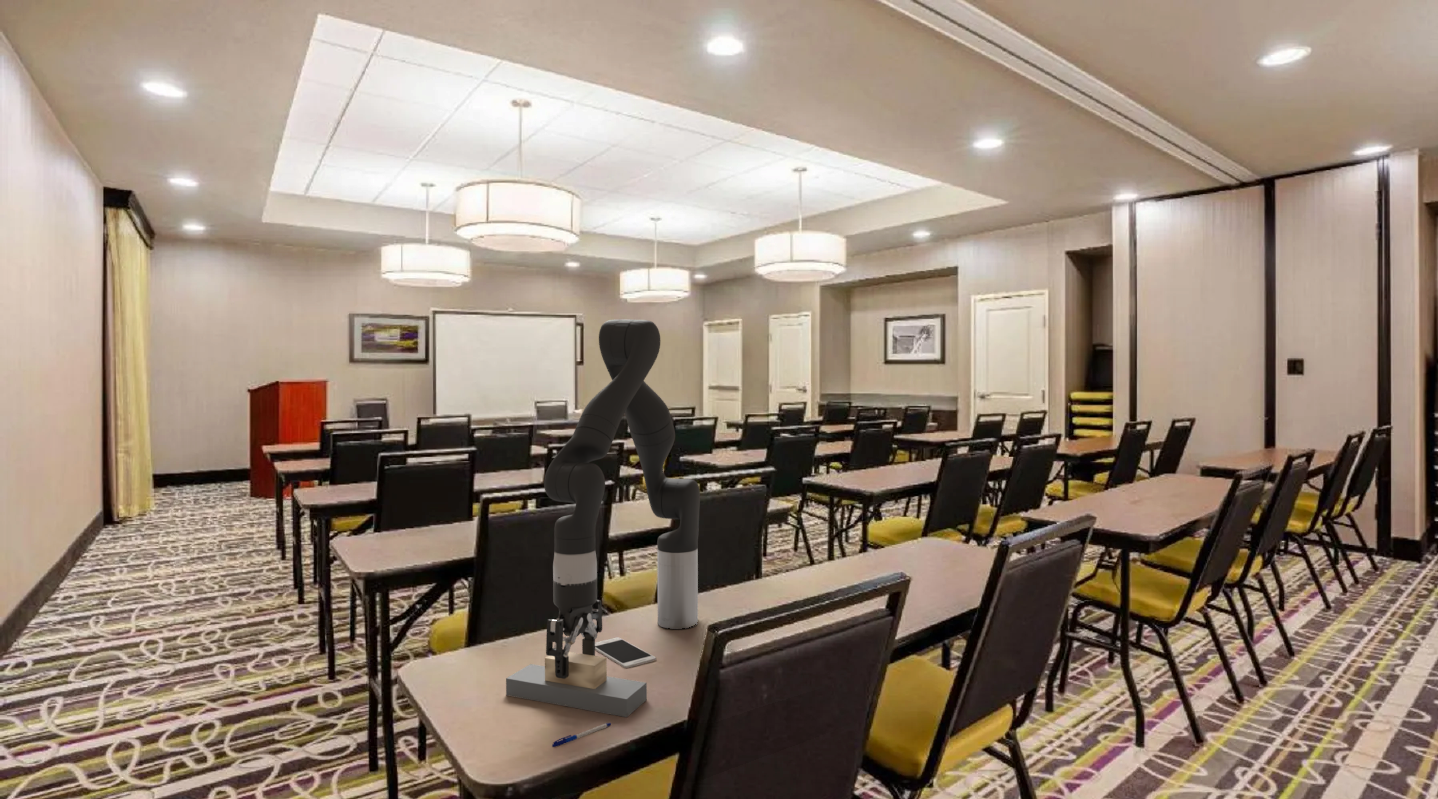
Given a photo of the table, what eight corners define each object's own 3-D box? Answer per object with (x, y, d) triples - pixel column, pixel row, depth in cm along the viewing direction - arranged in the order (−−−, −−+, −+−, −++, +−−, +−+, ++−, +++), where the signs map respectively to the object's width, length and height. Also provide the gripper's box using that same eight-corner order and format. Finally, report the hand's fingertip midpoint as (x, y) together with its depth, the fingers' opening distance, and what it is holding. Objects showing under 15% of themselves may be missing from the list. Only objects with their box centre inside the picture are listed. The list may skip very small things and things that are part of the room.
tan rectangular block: (545, 697, 128) (544, 657, 128) (557, 688, 132) (557, 650, 132) (594, 706, 125) (594, 665, 125) (606, 697, 128) (606, 657, 128)
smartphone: (618, 640, 158) (618, 636, 158) (656, 661, 146) (656, 657, 146) (588, 648, 154) (588, 643, 154) (625, 670, 142) (625, 665, 142)
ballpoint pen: (554, 749, 110) (554, 743, 110) (551, 747, 111) (551, 741, 111) (611, 726, 118) (611, 720, 118) (608, 724, 118) (608, 718, 118)
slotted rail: (506, 695, 129) (506, 678, 129) (530, 679, 136) (530, 663, 136) (626, 717, 121) (626, 699, 121) (646, 699, 127) (646, 682, 127)
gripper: (578, 565, 136) (579, 652, 136) (532, 584, 123) (533, 680, 123) (614, 568, 133) (614, 657, 134) (571, 589, 120) (571, 687, 120)
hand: (575, 668), depth 128 cm, fingers open, 8 cm apart
